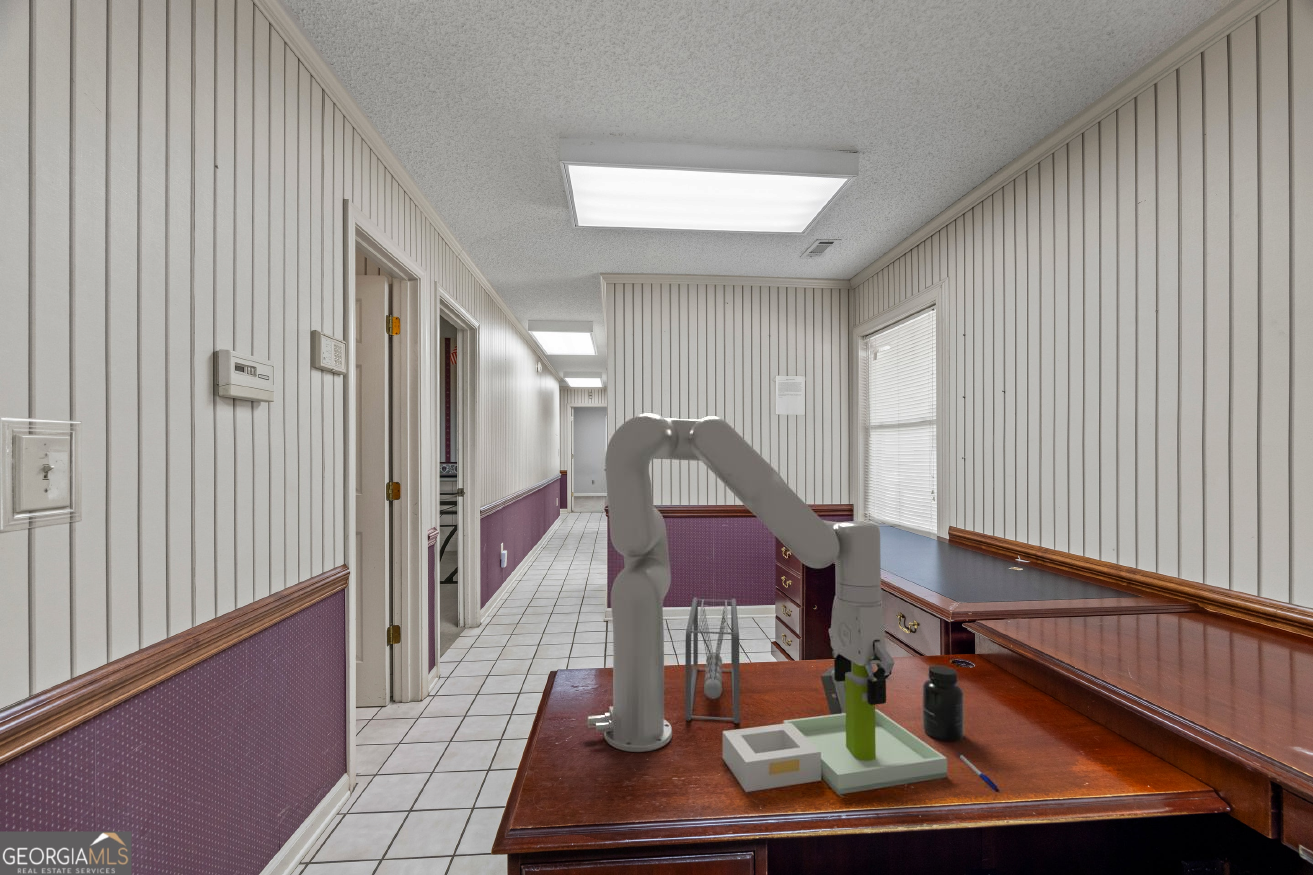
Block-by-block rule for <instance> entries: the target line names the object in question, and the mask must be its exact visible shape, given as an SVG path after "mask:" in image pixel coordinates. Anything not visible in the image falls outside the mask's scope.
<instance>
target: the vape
mask: <svg viewBox="0 0 1313 875" xmlns="http://www.w3.org/2000/svg"><path fill="white" fill-rule="evenodd" d="M870 660H872V659H870ZM851 662H852V661H851ZM852 667H853V672H847V673H845V700H846V747H847V749H848V750H849V752H850V753H851V754H852V756H853V757H854V758H855V759H857V760H860V761H873V760H875V759H876V744H875V709H876V705H870V704H869V703H868V701H867V679H870V677H869V675H868V672H867V670H866V667H865V665H864V666H859V665H857V664H855V663H853V662H852Z"/></svg>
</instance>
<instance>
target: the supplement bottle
mask: <svg viewBox="0 0 1313 875" xmlns="http://www.w3.org/2000/svg"><path fill="white" fill-rule="evenodd" d="M927 676H928V679H927V680H926V681H924V683H923V685H922V726H923V730H924V732H925V733H926V734H927V735H928V736H929V737H931V738H933V739H935V740H938V741H941V742H947V743H957V742H960V741H962V740H963V738H964V737H965V736H964V734H965V733H964V731H965V730H964V729H965V728H964V727H965V725H964V724H965V723H964V722H965V721H964V718H965V716H964V713H965V712H964V706H965V705H964V704H965V703H964V701H965V699H964V691H963V689H962V688H961V686H960V685H959V684H958V682H959V679H958V671H957V670H955V669H954V668H952V667H950V666H946V665H940V664H939V665H938V664H936V665H935V664H934V665H930V666H929V667H928V675H927Z"/></svg>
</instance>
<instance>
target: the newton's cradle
mask: <svg viewBox="0 0 1313 875" xmlns="http://www.w3.org/2000/svg"><path fill="white" fill-rule="evenodd" d="M699 601H700V602H701V605H700V606H701V607H700V613H699ZM691 602H692V603H691V606H690V612H689V616H688V621H687V626H686V630H685V651H684V652H685V657H684V658H685V659H684V660H685V664H684V665H685V673H684V674H685V678H684V679H685V680H684V681H685V690H684V692H685V693H684V694H685V703H684V706H685V710H684V713H685V720H686V721H689V722H690V721H691V720H692V719H702V720H718V721H719V720H721V721H733V723H734V724H736V725H737V724H739V723H740V631H739V621H738V620H739V619H738V609H737V607H738V606H737V600H736V598H731V599H730V600H729V599H711V598H710V599H704V598H703V599H702V598H698V597H695V596H694V597H693V598H692V601H691ZM704 602H719V603H720V602H722V603H723V602H725V605H721V607H723V610H722V609H720V610H719V609H718V610H717V609H716V610H715V609H710V611H713V612H716V611H717V612H718V611H719V612H722V614H718V616H720V617H721V619H718V621H721V622H720V624H718V625H714V624H708V619H707V614H706V609H705V607H707V605H704ZM728 603H730V608H731V612H730V613H731V615H730V617H731V618H730V620H731V623H730V624H731V625H730V628H731V629H730V630H731V632H729V630H728ZM709 626H713V627H714V626H715V627H719V631H710V629H709ZM692 634H693V635H692ZM699 634H702V640H703V644H704V650H705V655H706V659H705V662H706V664H705V667H699V666H698V665H699V664H698V663H699ZM711 634H712V635H718V638H717V642H716V648H715V651H713V645H712V641H711V636H710V635H711ZM724 635H731V636H730V639H731V640H730V643H731V644H730V647H731V648H730V650H731V651H730V652H731V653H730V654H731V656H730V657H731V662H730V663H731V664H730V667H731V668H730V669H726V668H723V666H722V665H723V659H722V657H721V651H722V650H721V648H722V643H723V639H724ZM692 637H693V638H692ZM692 640H693V641H692ZM692 644H693V645H692ZM692 648H693V649H692ZM692 650H693V651H692ZM692 652H693V653H692ZM692 655H693V658H692ZM692 659H693V660H692ZM692 661H693V664H692ZM731 665H734V666H731ZM693 666H698V667H693ZM699 670H701V671H705V672H704V675H705V676H704V685H703V692H704V695H705V696H706V697H707V698H709V699H711V700H712V699H713V700H716V699H718V698H719V697H720V696H721V694H722V692H723V687H722V684H723V680H722V678H723V673H722V672H731V692H732V715H733V716H732V718H731V717H720V716H719V717H718V716H717V717H716V716H701V715H693V707H694V700H695V692H696V691H695V690H696V685H697V677H698V676H697V675H698V671H699Z"/></svg>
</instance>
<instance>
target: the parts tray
mask: <svg viewBox="0 0 1313 875" xmlns="http://www.w3.org/2000/svg"><path fill="white" fill-rule="evenodd" d="M786 723H792V724H793V725H794V726H795V727H796V728H797V729H798V730H799V731H800V732H801V733H802V734H803V735H804V736H805V737H806V738H807V739H808V740H809V741H810V742H811V743H812V744H813V745H814V746H815V747H817V748H818V749H819V750H820V751H821V779H822V780H823V781H825V783H826V784H827V785H828V786H829V787H830V788H831V789H832V790H833V791H834V792H835V793H836V795H839V796H841V795H847V794H850V793H857V792H863V791H871V790H875V789H881V788H882V789H883V788H888V787H896V786H900V785H906V784H911V783H918V782H924V781H926V782H927V781H931V780H932V781H933V780H938V779H944V778H947V777H948V758H947V757H946V756H944V755H943V754H942V753H940V752H939V751H938V750H936V749H935V748H934V747H931V746H930V745H929V744H927V743H926V742H925V741H923V740H922V739H920V738H919V737H918V736H916V735H915V734H913V733H912V732H910V731H909V730H907V729H906V728H904V727H903V726H902V725H900V724H899V723H897V722H896V721H895V720H893V719H891V718H890V717H889V716H888V715H886V714H884V713H883V712H882V711H880V710H878V709H876V708H875V744H876V759H875V760H873V761H860V760H857V759H855V758H854V757H853V756H852V754H851V753H850V752H849V750H848V749H847V747H846V713H842V714H834V715H831V714H827V715H819V716H811V717H803V718H796V719H795V718H793V719H786V720H783V721H782V724H786Z"/></svg>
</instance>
